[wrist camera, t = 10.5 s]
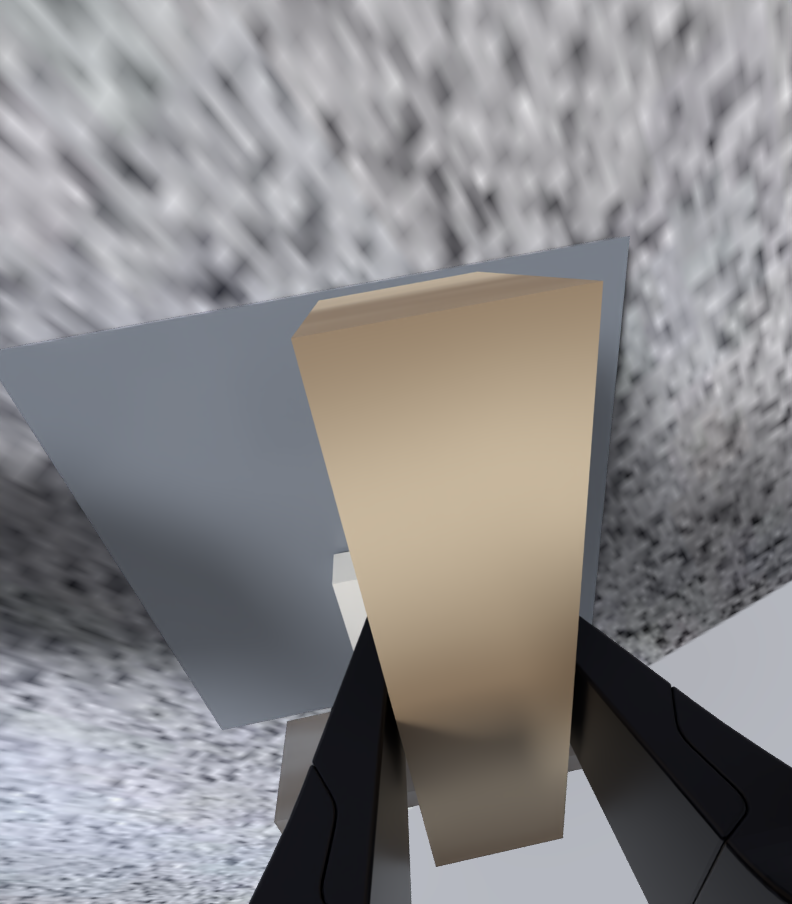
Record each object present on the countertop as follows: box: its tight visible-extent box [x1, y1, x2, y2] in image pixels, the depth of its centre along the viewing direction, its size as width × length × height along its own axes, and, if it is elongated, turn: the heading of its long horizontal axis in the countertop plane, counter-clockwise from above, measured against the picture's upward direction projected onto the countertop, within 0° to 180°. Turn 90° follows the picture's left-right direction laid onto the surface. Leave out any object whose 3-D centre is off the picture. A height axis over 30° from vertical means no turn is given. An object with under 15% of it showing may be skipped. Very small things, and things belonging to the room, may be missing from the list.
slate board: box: [0, 236, 630, 730], centre depth 15 cm, size 18×18×1 cm
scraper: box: [274, 272, 603, 867], centre depth 8 cm, size 13×11×4 cm
